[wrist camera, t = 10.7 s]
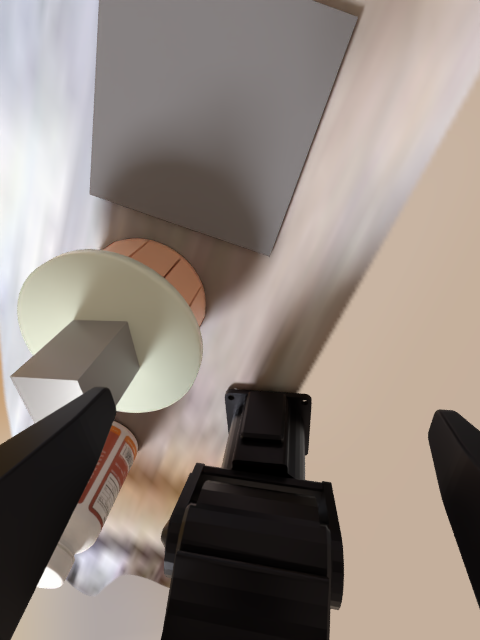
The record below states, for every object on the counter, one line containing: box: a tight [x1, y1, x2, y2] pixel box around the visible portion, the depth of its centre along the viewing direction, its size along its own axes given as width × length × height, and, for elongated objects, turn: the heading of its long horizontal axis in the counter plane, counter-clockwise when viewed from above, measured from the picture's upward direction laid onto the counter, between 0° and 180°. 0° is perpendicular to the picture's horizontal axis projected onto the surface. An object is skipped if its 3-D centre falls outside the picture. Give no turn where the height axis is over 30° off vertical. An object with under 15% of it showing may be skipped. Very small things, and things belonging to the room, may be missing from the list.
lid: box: [10, 249, 203, 423], centre depth 16 cm, size 10×10×5 cm
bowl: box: [103, 238, 206, 327], centre depth 21 cm, size 8×8×5 cm
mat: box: [90, 0, 358, 257], centre depth 17 cm, size 11×11×1 cm
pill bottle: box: [37, 421, 138, 588], centre depth 27 cm, size 6×6×11 cm
